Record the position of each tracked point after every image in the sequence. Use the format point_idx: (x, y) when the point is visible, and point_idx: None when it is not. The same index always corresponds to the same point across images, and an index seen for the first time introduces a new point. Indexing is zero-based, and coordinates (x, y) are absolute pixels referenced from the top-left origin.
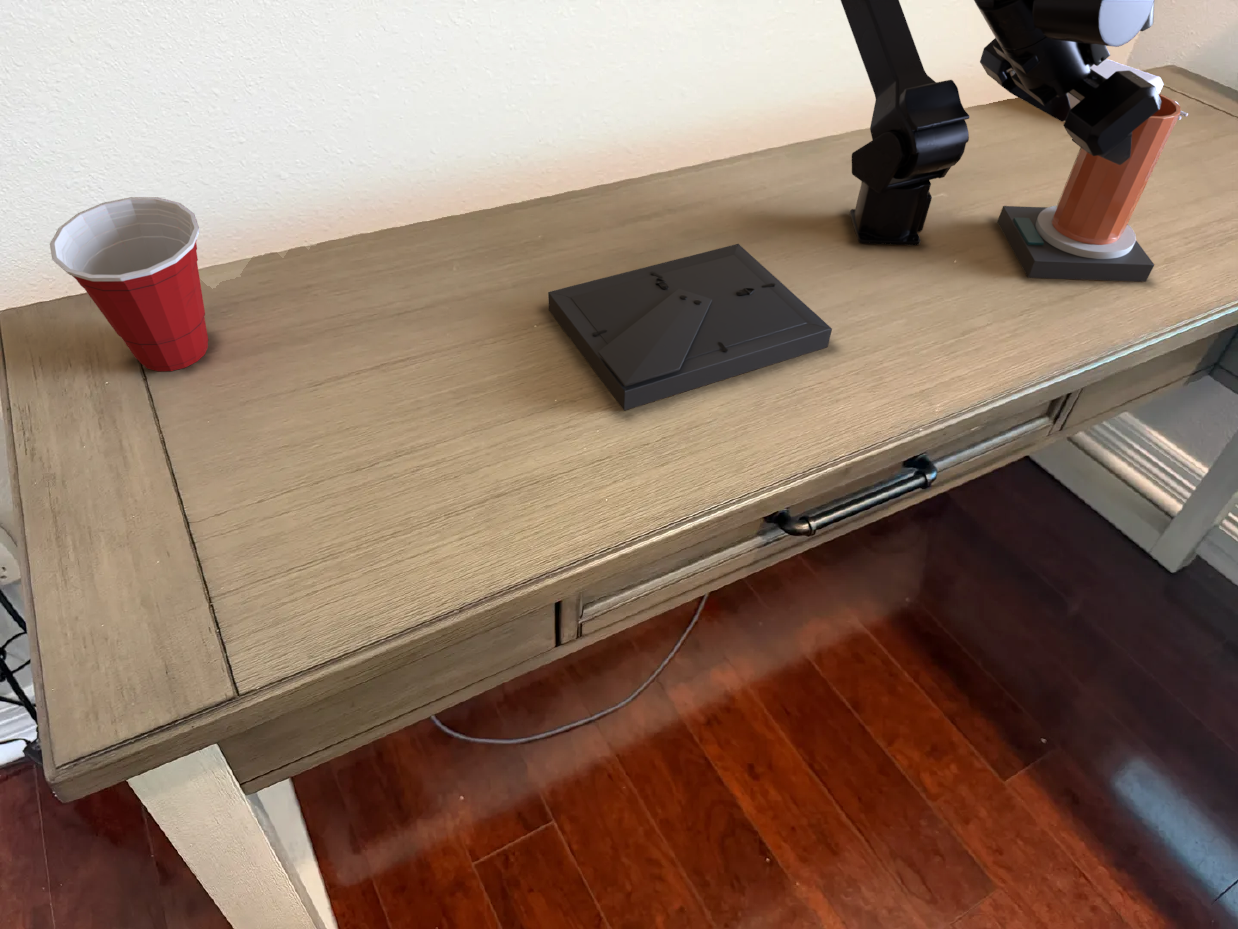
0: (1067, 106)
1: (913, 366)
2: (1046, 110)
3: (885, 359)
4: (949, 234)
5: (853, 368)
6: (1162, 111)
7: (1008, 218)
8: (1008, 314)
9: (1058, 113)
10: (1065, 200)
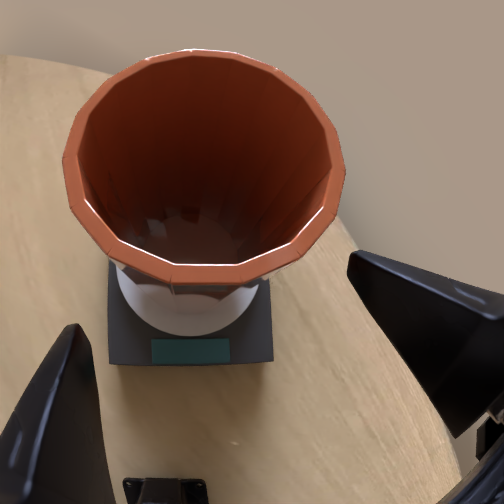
0: (75, 354)
1: (408, 466)
2: (100, 428)
3: (399, 485)
4: (161, 437)
5: (405, 500)
6: (179, 84)
7: (143, 365)
8: (342, 393)
9: (91, 378)
10: (197, 312)
